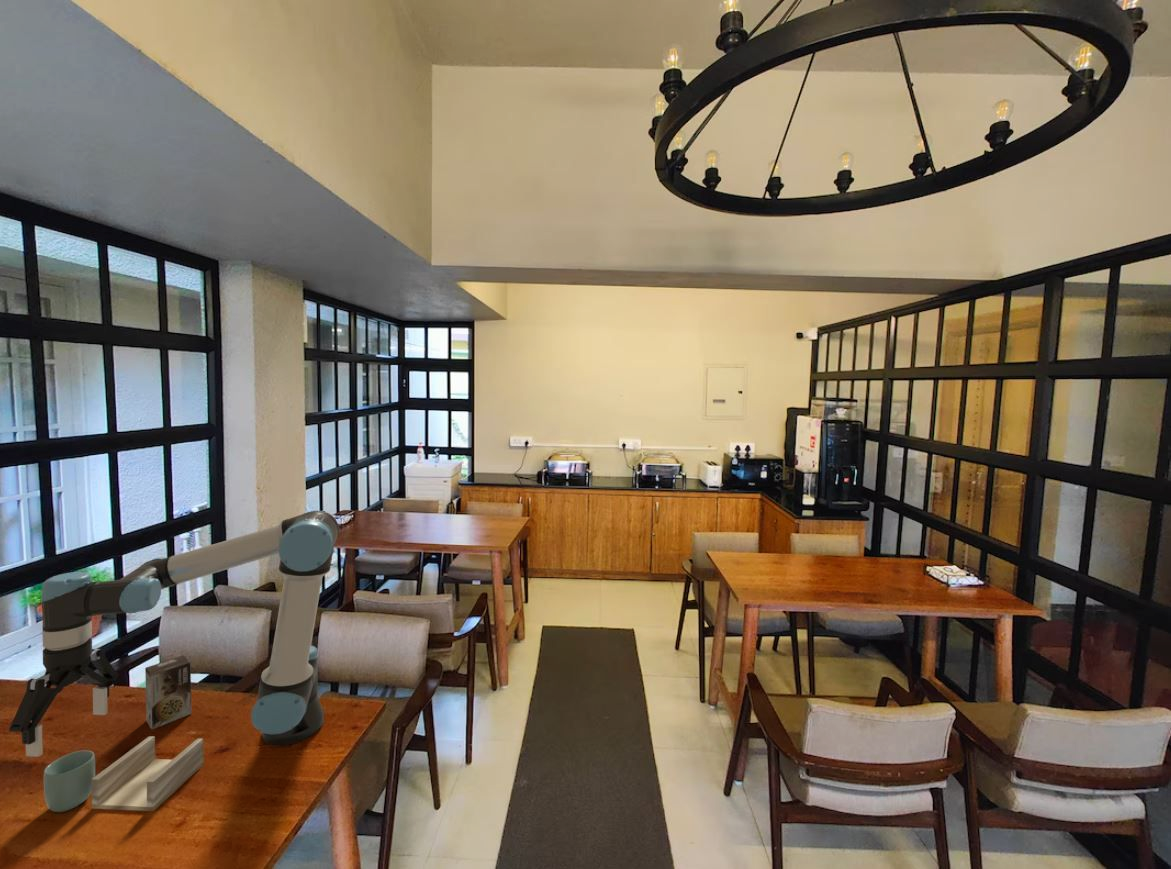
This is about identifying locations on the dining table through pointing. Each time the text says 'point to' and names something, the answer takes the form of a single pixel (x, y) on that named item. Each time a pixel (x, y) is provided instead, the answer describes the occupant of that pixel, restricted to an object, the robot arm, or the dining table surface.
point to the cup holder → (144, 777)
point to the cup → (69, 780)
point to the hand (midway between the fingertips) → (69, 733)
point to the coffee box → (168, 691)
